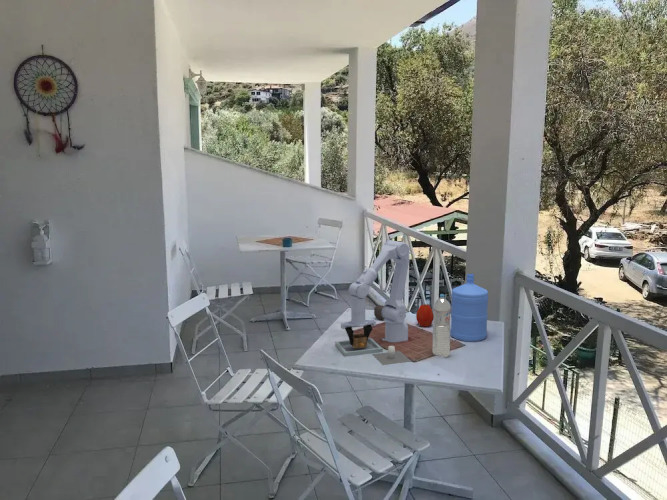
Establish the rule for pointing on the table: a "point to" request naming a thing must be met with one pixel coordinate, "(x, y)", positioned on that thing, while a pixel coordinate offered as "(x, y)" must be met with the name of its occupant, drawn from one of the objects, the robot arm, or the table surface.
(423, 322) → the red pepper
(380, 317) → the perforated stone tool
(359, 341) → the walnut collar
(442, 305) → the water bottle
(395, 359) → the post board
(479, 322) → the water jug
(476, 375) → the table surface
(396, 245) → the robot arm
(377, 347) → the pale green tray
